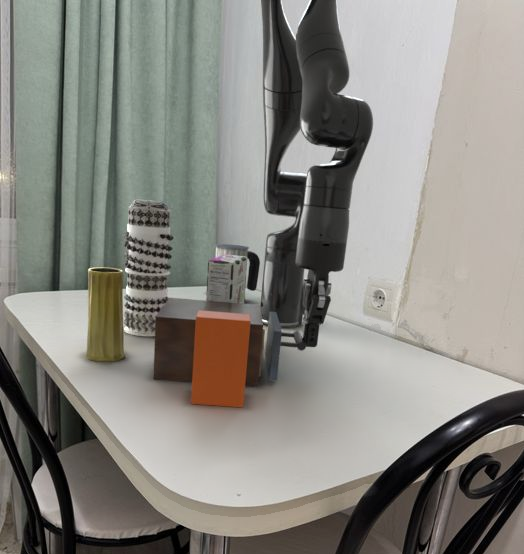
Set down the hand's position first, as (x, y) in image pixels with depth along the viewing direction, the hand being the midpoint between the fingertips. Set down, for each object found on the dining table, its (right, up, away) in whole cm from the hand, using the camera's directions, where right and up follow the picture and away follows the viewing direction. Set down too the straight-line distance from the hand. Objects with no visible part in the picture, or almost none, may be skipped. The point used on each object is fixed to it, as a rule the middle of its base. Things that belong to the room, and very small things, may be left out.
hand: (309, 345), depth 82 cm
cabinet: (-16, -4, 0) cm, 17 cm away
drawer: (-11, -3, 0) cm, 11 cm away
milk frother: (-19, +14, +59) cm, 63 cm away
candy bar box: (-15, 0, +15) cm, 21 cm away
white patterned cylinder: (-31, +3, +18) cm, 36 cm away
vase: (-34, -2, +1) cm, 34 cm away
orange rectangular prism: (-14, -8, -13) cm, 20 cm away
